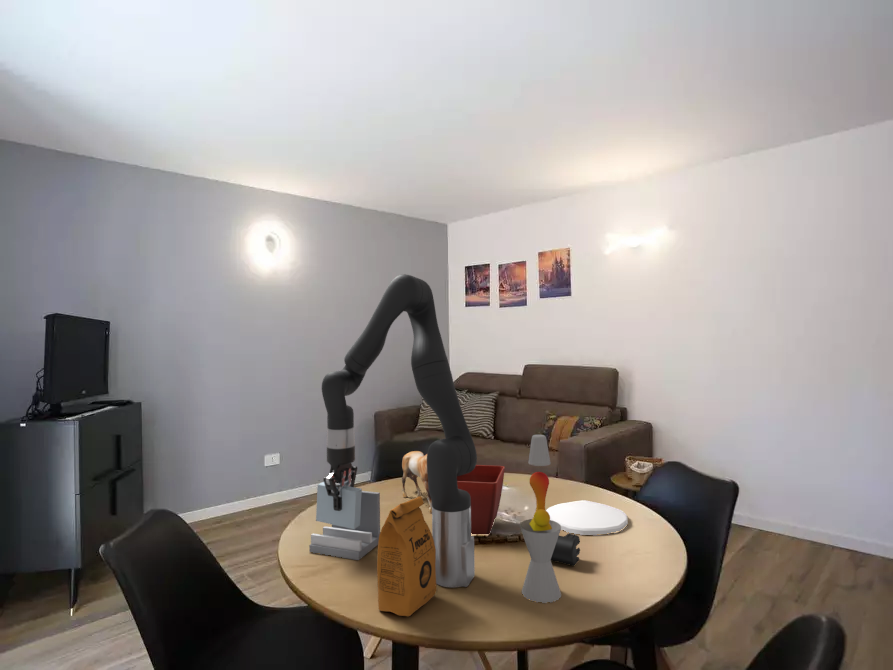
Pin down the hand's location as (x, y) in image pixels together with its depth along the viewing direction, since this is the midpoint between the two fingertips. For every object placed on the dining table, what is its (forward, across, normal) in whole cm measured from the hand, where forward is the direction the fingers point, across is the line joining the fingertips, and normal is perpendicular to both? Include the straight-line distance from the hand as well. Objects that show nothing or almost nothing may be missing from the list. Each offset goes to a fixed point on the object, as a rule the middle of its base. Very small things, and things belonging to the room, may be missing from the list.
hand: (341, 507), depth 141 cm
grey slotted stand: (+11, +2, 0) cm, 12 cm away
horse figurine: (+12, +46, -6) cm, 48 cm away
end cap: (+11, +12, -56) cm, 58 cm away
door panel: (+4, 0, +1) cm, 4 cm away
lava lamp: (+11, -6, -55) cm, 57 cm away
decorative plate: (+12, +44, -60) cm, 75 cm away
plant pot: (+12, +26, -28) cm, 40 cm away
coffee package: (+11, -20, -29) cm, 37 cm away
